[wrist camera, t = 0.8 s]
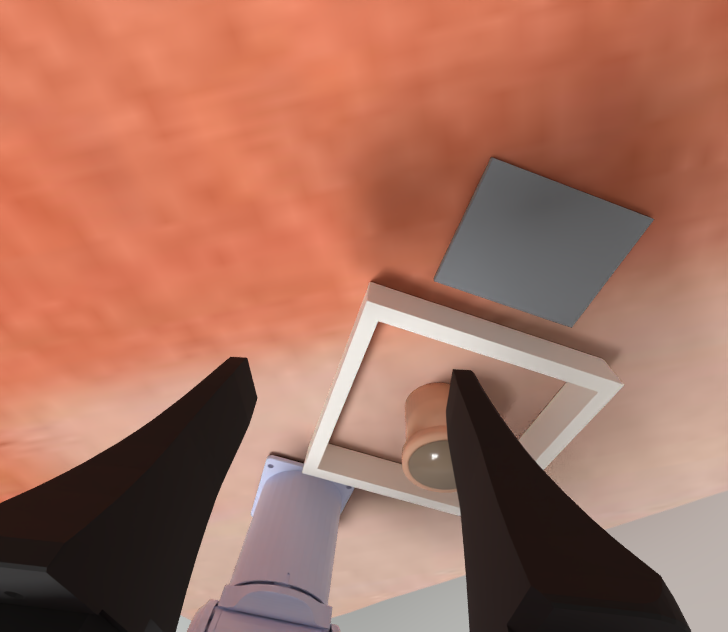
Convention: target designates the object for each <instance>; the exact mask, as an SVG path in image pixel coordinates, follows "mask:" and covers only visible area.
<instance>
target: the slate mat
mask: <svg viewBox="0 0 728 632" xmlns="http://www.w3.org/2000/svg"><path fill="white" fill-rule="evenodd" d="M653 220H654V219H653V218H650V217H648V216H645V215H643V214H640V213H637V212H635V211H632V210H629V209H627V208H624V207H621V206H619V205H616V204H614V203H611V202H608V201H606V200H603V199H600V198H598V197H595V196H593V195H590V194H587V193H585V192H582V191H579V190H577V189H574V188H572V187H569V186H566V185H564V184H561V183H558V182H556V181H553V180H550V179H548V178H545V177H543V176H540V175H537V174H535V173H532V172H529V171H527V170H524V169H522V168H519V167H516V166H514V165H511V164H508V163H506V162H503V161H501V160H498V159H495V158H493V157H491V159H490V161H489V163H488V165H487V167H486V169H485V171H484V173H483V175H482V177H481V180H480V182H479V184H478V186H477V188H476V190H475V192H474V194H473V196H472V199H471V201H470V203H469V205H468V207H467V209H466V211H465V213H464V215H463V218H462V220H461V222H460V224H459V226H458V228H457V230H456V232H455V234H454V237H453V239H452V241H451V243H450V245H449V247H448V249H447V251H446V253H445V255H444V258H443V260H442V262H441V264H440V266H439V268H438V270H437V272H436V274H435V277H434V281H435V282H438V283H441V284H444V285H447V286H450V287H453V288H456V289H459V290H461V291H464V292H467V293H470V294H473V295H476V296H479V297H482V298H485V299H488V300H491V301H494V302H497V303H500V304H503V305H506V306H509V307H512V308H515V309H518V310H521V311H524V312H527V313H529V314H532V315H535V316H538V317H541V318H544V319H547V320H550V321H553V322H556V323H559V324H562V325H565V326H568V327H571V328H572V327H573V325H574V324H575V323H576V321H577V320H578V319H579V317H580V316H581V315H582V313H583V312H584V311H585V310H586V308H587V307H588V306H589V304H590V303H591V302H592V300H593V299H594V298H595V296H596V295H597V294H598V292H599V291H600V290H601V289H602V287H603V286H604V285H605V283H606V282H607V281H608V279H609V278H610V277H611V275H612V274H613V273H614V271H615V270H616V269H617V268H618V266H619V265H620V264H621V262H622V261H623V260H624V258H625V257H626V256H627V254H628V253H629V252H630V250H631V249H632V248H633V246H634V245H635V244H636V243H637V241H638V240H639V239H640V237H641V236H642V235H643V233H644V232H645V231H646V229H647V228H648V227H649V225H650V224H651V223H652V222H653Z"/></svg>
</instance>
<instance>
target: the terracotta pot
mask: <svg viewBox="0 0 728 632" xmlns="http://www.w3.org/2000/svg"><path fill="white" fill-rule="evenodd" d="M449 389H450V384H447V383H430V384H426V385H423V386H421V387H419V388H417V389H416V390H414V391H413V392H412V393H411V394H410V395H409V397H408V398H407V400H406V403H405V422H406V443H405V444H404V446H403V449H402V469H403V472H404V474H405V476H406V477H407V478H408V479H409V480H410V481H411V482H412V483H413V484H415V485H416V486H418V487H420V488H423V489H425V490H429V491H433V492H440V493H451V492H457V489H456V483H455V478H454V472H453V467H452V461H451V456H450V450H449V444H448V438H447V424H446V406H447V400H448V395H449Z"/></svg>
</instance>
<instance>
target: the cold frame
mask: <svg viewBox="0 0 728 632" xmlns="http://www.w3.org/2000/svg"><path fill="white" fill-rule="evenodd" d="M378 321H379V322H383V323H386V324H389V325H392V326H395V327H398V328H401V329H404V330H407V331H411V332H414V333H417V334H420V335H423V336H426V337H429V338H432V339H435V340H439V341H442V342H445V343H448V344H451V345H454V346H457V347H460V348H463V349H466V350H470V351H473V352H476V353H479V354H482V355H485V356H488V357H491V358H494V359H498V360H501V361H504V362H507V363H510V364H513V365H516V366H519V367H522V368H526V369H529V370H532V371H535V372H538V373H541V374H544V375H547V376H550V377H553V378H557V379H560V380H563V381H566V383H565V385H564V386H563V387H562V388H561V389H560V391H559V392H558V393H557V394H556V395H555V397H554V398H553V399H552V400H551V401H550V403H549V404H548V405H547V406H546V407H545V409H544V410H543V411H542V412H541V413H540V415H539V416H538V417H537V418H536V419H535V421H534V422H533V423H532V424H531V425H530V427H529V428H528V429H527V430H526V431H525V433H524V434H523V435H522V436H521V437H520V439H519V440H518V441H519V442H520V443H521V444H522V446H523V447H524V448H525V449H526V451H527V452H528V453H529V454H530V456H531V457H532V458H533V459H534V460H535V461H536V463H537V464H538V465H539V466H540V467H541V468H542V469H543V470H544V469H545V468H546V467H547V466H548V465H549V464H550V463H551V462H552V461H553V459H554V458H555V457H556V456H557V455H558V454H559V453H560V452H561V451H562V450H563V449H564V448H565V447H566V446H567V445H568V444H569V443H570V442H571V441H572V440H573V438H574V437H575V436H576V435H577V434H578V433H579V432H580V431H581V430H582V429H583V428H584V427H585V426H586V425H587V424H588V423H589V422H590V421H591V420H592V419H593V417H594V416H595V415H596V414H597V413H598V412H599V411H600V410H601V409H602V408H603V407H604V406H605V405H606V404H607V403H608V402H609V401H610V400H611V399H612V398H613V396H614V395H615V394H616V393H617V392H618V391H619V390H620V389H621V388H622V387H623V386H624V384H623V383H622V381H621V380H620V379H619V378H618V376H617V375H616V374H615V373H614V372H613V370H612V369H611V368H610V367H609V365H608V364H607V363H606V362H605V361H604V359H602V358H599V357H596V356H593V355H589V354H586V353H583V352H580V351H577V350H574V349H571V348H568V347H565V346H562V345H559V344H556V343H553V342H550V341H547V340H544V339H541V338H538V337H535V336H532V335H529V334H526V333H523V332H520V331H517V330H514V329H511V328H508V327H505V326H502V325H499V324H496V323H493V322H490V321H487V320H484V319H481V318H478V317H475V316H472V315H469V314H466V313H463V312H460V311H457V310H454V309H451V308H448V307H445V306H442V305H439V304H436V303H433V302H430V301H427V300H424V299H421V298H418V297H415V296H412V295H409V294H406V293H403V292H400V291H397V290H394V289H391V288H388V287H385V286H382V285H379V284H376V283H373V282H369V285H368V288H367V290H366V293H365V296H364V299H363V301H362V304H361V307H360V309H359V312H358V315H357V317H356V320H355V323H354V325H353V328H352V331H351V333H350V336H349V339H348V342H347V344H346V347H345V350H344V352H343V355H342V358H341V360H340V363H339V366H338V368H337V371H336V374H335V376H334V379H333V382H332V385H331V387H330V390H329V393H328V395H327V398H326V401H325V403H324V406H323V409H322V411H321V414H320V417H319V419H318V422H317V425H316V428H315V430H314V433H313V436H312V438H311V441H310V444H309V446H308V450H307V454H306V458H305V462H304V466H303V470H302V473H304V474H307V475H311V476H315V477H318V478H322V479H326V480H329V481H333V482H337V483H340V484H344V485H348V486H351V487H355V488H359V489H362V490H366V491H370V492H373V493H377V494H381V495H384V496H388V497H392V498H395V499H399V500H403V501H406V502H410V503H414V504H417V505H421V506H425V507H428V508H432V509H436V510H439V511H443V512H447V513H450V514H454V515H458V516H461V513H460V506H459V500H458V494H457V492H451V493H440V492H433V491H429V490H425V489H423V488H420V487H418V486H416V485H415V484H413V483H412V482H411V481H410V480H409V479H408V478H407V477H406V476H405V474H404V472H403V469H402V464H399V463H395V462H392V461H388V460H385V459H381V458H378V457H374V456H371V455H367V454H364V453H360V452H356V451H353V450H349V449H346V448H342V447H339V446H335V445H332V444H328V442H329V439H330V437H331V434H332V432H333V429H334V427H335V425H336V422H337V420H338V417H339V415H340V412H341V410H342V408H343V405H344V403H345V400H346V398H347V396H348V393H349V391H350V388H351V386H352V383H353V381H354V379H355V376H356V374H357V371H358V369H359V366H360V364H361V362H362V359H363V357H364V354H365V352H366V349H367V347H368V345H369V342H370V340H371V337H372V335H373V333H374V330H375V328H376V325H377V323H378Z"/></svg>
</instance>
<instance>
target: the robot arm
mask: <svg viewBox="0 0 728 632" xmlns="http://www.w3.org/2000/svg"><path fill="white" fill-rule="evenodd" d="M256 401H257V395H256V391H255V387H254V383H253V379H252V375H251V371H250V367H249V363H248V359H247V358H242V357H230V358H229V359H227V360H226V361H225V362H224V363H223V364H221V365H220V366H219V367H218V368H217V369H215V370H214V371H213V372H212V373H211V374H210V375H208V376H207V377H206V378H205V379H204V380H203V381H201V382H200V383H199V384H198V385H197V386H195V387H194V388H193V389H192V390H191V391H189V392H188V393H187V394H186V395H185V396H183V397H182V398H181V399H179V400H178V401H177V402H176V403H174V404H173V405H172V406H170V407H169V408H168V409H166V410H165V411H164V412H162V413H161V414H160V415H159V416H157V417H156V418H155V419H153V420H152V421H150V422H149V423H147V424H146V425H145V426H143V427H142V428H140V429H139V430H137V431H136V432H134V433H133V434H131V435H130V436H128V437H126V438H125V439H123V440H122V441H120V442H119V443H117V444H115V445H113V446H112V447H110V448H108V449H107V450H105V451H103V452H101V453H100V454H98V455H96V456H95V457H93V458H91V459H90V460H88V461H86V462H84V463H82V464H81V465H79V466H77V467H75V468H73V469H71V470H69V471H67V472H65V473H63V474H61V475H59V476H57V477H55V478H53V479H51V480H49V481H47V482H45V483H43V484H41V485H39V486H37V487H35V488H33V489H31V490H28V491H26V492H24V493H22V494H20V495H17V496H15V497H13V498H11V499H8V500H6V501H4V502H2V503H0V632H176V629H177V625H178V621H179V617H180V614H181V610H182V606H183V602H184V599H185V595H186V591H187V588H188V584H189V581H190V578H191V574H192V571H193V567H194V564H195V561H196V557H197V554H198V551H199V548H200V545H201V542H202V539H203V535H204V532H205V529H206V526H207V523H208V520H209V517H210V515H211V512H212V509H213V506H214V503H215V500H216V497H217V495H218V492H219V490H220V488H221V485H222V483H223V481H224V478H225V476H226V474H227V472H228V470H229V468H230V465H231V463H232V461H233V459H234V457H235V455H236V453H237V450H238V448H239V446H240V444H241V442H242V439H243V437H244V435H245V433H246V431H247V428H248V426H249V424H250V421H251V418H252V414H253V411H254V408H255V405H256ZM446 424H447V438H448V444H449V450H450V456H451V461H452V467H453V472H454V478H455V483H456V489H457V494H458V500H459V506H460V513H461V521H462V533H463V544H464V556H465V569H466V582H467V597H468V613H469V628H470V632H691V630H690V628H689V626H688V624H687V622H686V620H685V618H684V616H683V614H682V612H681V610H680V608H679V606H678V604H677V603H676V601H675V599H674V597H673V595H672V594H671V592H670V591H669V589H668V587H667V586H666V584H665V582H664V581H663V579H662V577H661V576H660V575H659V574H658V573H656V572H655V571H654V570H652V569H651V568H650V567H649V566H648V565H646V564H645V563H644V562H643V561H641V560H640V559H639V558H638V557H636V556H635V555H634V554H633V553H631V552H630V551H629V550H628V549H626V548H625V547H624V546H623V545H621V544H620V543H619V542H618V541H617V540H615V539H614V538H613V537H612V536H611V535H609V534H608V533H607V532H606V531H605V530H604V529H603V528H602V527H600V526H599V525H598V524H597V523H596V522H595V521H594V520H592V519H591V518H590V517H589V516H588V515H587V514H586V513H585V512H584V511H583V510H582V509H581V508H580V507H579V506H578V505H577V504H576V503H575V502H574V501H573V500H572V499H571V498H570V497H568V496H567V495H566V494H565V493H564V492H563V491H562V490H561V489H560V488H559V487H558V485H557V484H556V483H555V482H554V481H553V480H552V479H551V478H550V477H549V476H548V475H547V474H546V473H545V472H544V470H543V469H542V468H541V467H540V466H539V465H538V464H537V463H536V461H535V460H534V459H533V458H532V457H531V456H530V454H529V453H528V452H527V451H526V449H525V448H524V447H523V446H522V444H521V443H520V442H519V441H518V439H517V438H516V437H515V435H514V434H513V433H512V431H511V430H510V429H509V427H508V426H507V425H506V423H505V422H504V420H503V419H502V417H501V416H500V414H499V413H498V412H497V410H496V409H495V407H494V406H493V404H492V403H491V401H490V399H489V398H488V396H487V395H486V393H485V391H484V390H483V388H482V386H481V385H480V383H479V381H478V379H477V378H476V376H475V374H474V373H473V372H472V371H471V370H456V369H453V372H452V378H451V383H450V389H449V395H448V400H447V406H446ZM303 466H304V464H303V463H300V462H296V461H293V460H289V459H285V458H282V457H278V456H274V455H270V456H268V457H267V459H266V463H265V466H264V470H263V473H262V477H261V480H260V484H259V487H258V491H257V494H256V498H255V501H254V505H253V508H252V512H251V516H252V520H251V523H250V526H249V529H248V532H247V535H246V538H245V540H244V543H243V546H242V549H241V552H240V555H239V558H238V560H237V563H236V566H235V569H234V572H233V575H232V578H231V581H230V583H229V585H225V587H224V590H223V592H222V595H221V598H220V601H218V600H214V599H210V600H209V601H208V602H207V603H206V604H205V605H203V606H202V607H201V608H199V609H198V611H197V612H196V614H195V616H194V617H193V619H192V621H191V624H190V626H189V628H188V630H187V632H340V629H339V627H338V626H337V625H335V624H330V623H331V615H332V607H331V606H328V599H329V592H330V585H331V577H332V570H333V563H334V555H335V548H336V541H337V533H338V526H339V519H340V515H341V513H342V511H343V509H344V507H345V505H346V503H347V501H348V499H349V498H350V496H351V494H352V492H353V490H354V488H355V487H351V486H348V485H344V484H340V483H337V482H333V481H329V480H326V479H322V478H318V477H315V476H311V475H307V474H304V473H302V470H303Z"/></svg>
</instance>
